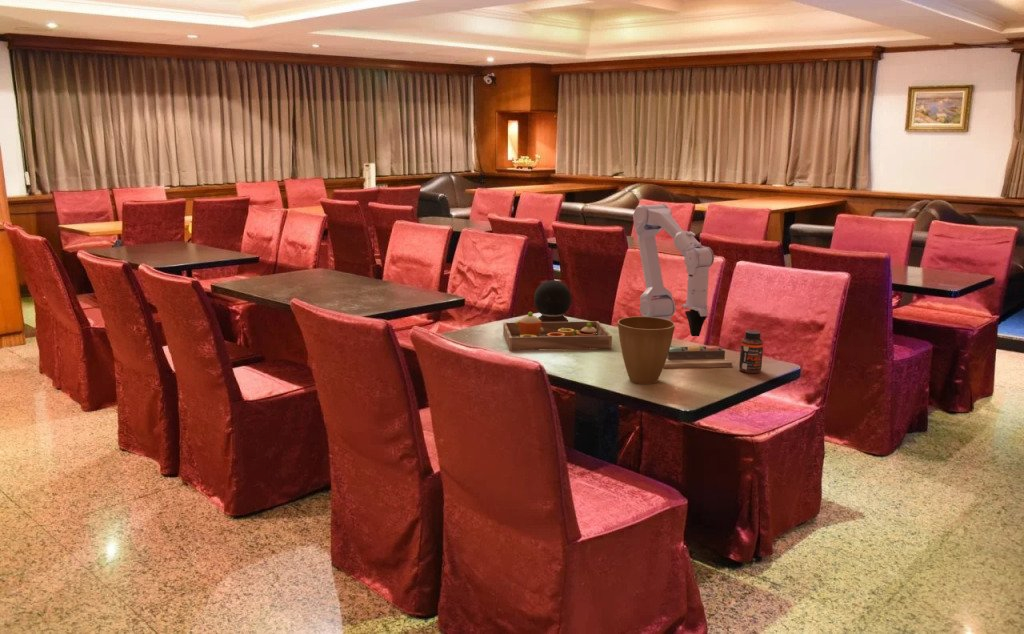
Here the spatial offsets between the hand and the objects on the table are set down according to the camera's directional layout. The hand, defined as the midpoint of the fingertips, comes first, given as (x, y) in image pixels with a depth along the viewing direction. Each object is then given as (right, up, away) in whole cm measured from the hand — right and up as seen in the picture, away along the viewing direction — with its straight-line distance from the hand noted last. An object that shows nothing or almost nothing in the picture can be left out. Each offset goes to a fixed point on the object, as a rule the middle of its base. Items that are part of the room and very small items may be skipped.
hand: (695, 335), depth 243 cm
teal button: (-6, -6, +1) cm, 8 cm away
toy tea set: (-40, -3, +22) cm, 46 cm away
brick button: (+5, -6, +2) cm, 8 cm away
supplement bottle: (+13, -10, -9) cm, 19 cm away
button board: (-1, -7, +1) cm, 8 cm away
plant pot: (-18, -12, -19) cm, 29 cm away
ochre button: (0, -6, +1) cm, 6 cm away
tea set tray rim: (-39, -2, +24) cm, 46 cm away
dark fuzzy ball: (-39, +3, +52) cm, 65 cm away
